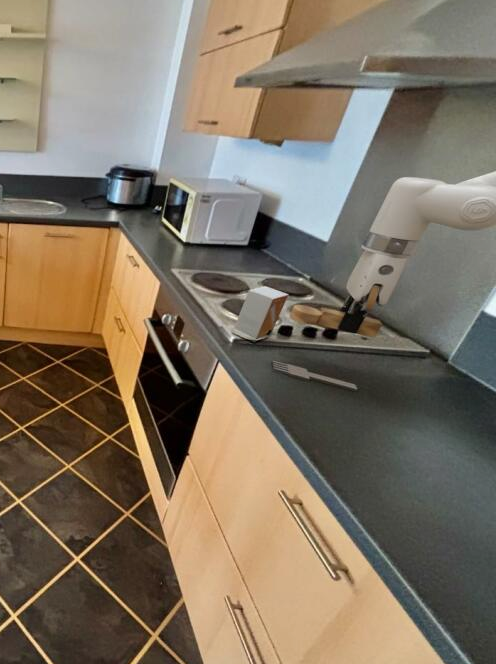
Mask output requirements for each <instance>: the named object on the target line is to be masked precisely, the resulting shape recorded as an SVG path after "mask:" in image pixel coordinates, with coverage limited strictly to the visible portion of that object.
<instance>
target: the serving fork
mask: <svg viewBox="0 0 496 664" xmlns="http://www.w3.org/2000/svg"><path fill="white" fill-rule="evenodd" d="M271 368H272V372H275V373H278V374H282V375H284V376H285V375H286V376H288V377H291V378H295V379H298V380H301V381H305V382H309V381H314V382H318V383H321V384H325V385H328V386H331V387H335V388H339V389H343V390H346V391H350V392H354V393H357V391H358V387H357V385H356V383H355V384H354V383H351V382H347V381H344V380H340V379H336V378H333V377H328V376H326V375H321V374H317V373H314V372H310V371H308V369H307V368H304V367H300V366H297V365H294V364H289V363H284V362H280V361H276V360H272V361H271Z"/></svg>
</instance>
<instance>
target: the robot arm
mask: <svg viewBox="0 0 496 664" xmlns="http://www.w3.org/2000/svg"><path fill="white" fill-rule="evenodd" d="M431 223H433V224H437V225H440V226H445V227H448V228H452V229H456V230H461V231H480V230H486V229H488V228H491V227H493V226H496V170H495V171H492V172H489V173H486V174H483V175H479V176H476V177H473V178H470V179H467V180H464V181H461V182H458V183H456V184H449V183H447V182H445V181H443V180H439V179H432V178H425V177H417V176H416V177H415V176H414V177H413V176H404V177H403V176H402V177H400V178H398V179H396V180H395V181H394V182H393V183H392V185H391V187H390V189H389V191H388V192H387V195H386V197H385V199H384V201H383V203H382V205H381V207H380V209H379V211H378V212H377V215H376V216H375V219H374V220H373V223H372V224H371V227H370V229H368V230H369V231H368V232H367V234H366V237H365V239H364V241H363V243H361V244H362V245H361V246H360V247H361V249H362V250H364V251H363V253H362V254H361V255H360V257H359V259H358V260H357V262H356V265H355V266H354V268H353V270H352V272H351V274H350V276H349V278H348V280H347V282H346V286H345V289H346V290H347V292H348V295H347V296H346V298H345V300H344V302H343V304H342V306H341V308H340V310H339V311H340V312H345V314H344V316H343V318H342V320H341V322H340V324H339V326H338V329H339V330H338V329H337V330H338V331H341V332H347V333H351V334H355V333H357V331H358V329H359V328H360V326H361V324H362V322H363V320H364V319H365V317H367V316H368V315H369V312H373V310H374V307H375V304H377V306H379V307H385V306H386V305H387V304H388V301H389V300H390V298H391V296H392V294H393V292H394V290H395V288H396V286H397V285H398V282H399V280H400V277H401V275H402V273H403V270H404V267H405V265H406V263H407V259H410V258H412V256H413V254H414V252H415V250H416V249H417V247H418V245H419V244H420V241H421V240H422V239H423V236H424V235H425V233H426V231H427V229H428V228H429V226H430V224H431Z"/></svg>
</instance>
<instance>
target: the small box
mask: <svg viewBox="0 0 496 664" xmlns="http://www.w3.org/2000/svg"><path fill="white" fill-rule="evenodd" d="M288 297H289V293H286V292H283V291H280V290H277V289H275V288H272V287H269V286H266V285H264V286H260V287H255V288H252V289H248V291H247V294H246V297H245V299H244V302H243V305H242V307H241V309H240V312H239V315H238V317H237V320H236V321H235V324H234V327H233V329H234V328H235V329H237V330H239V331H241V332H243V333H245V334H247V335H249V336H251V337H253V338H255V339H258V338H260V337H263V336H265V335H266V334H267V333H268V332H269V330H273V331H274V329H275V327H276V326H275V325H276V324H277V322H278V319H279V317H280V315H281V313H282V310H283V308H284V306H285V304H286V302H287V300H288Z"/></svg>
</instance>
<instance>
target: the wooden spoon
mask: <svg viewBox="0 0 496 664" xmlns="http://www.w3.org/2000/svg"><path fill="white" fill-rule="evenodd" d="M344 314H345V312H340V310H336V309H330V308H327V307H321V308H320V310H319V309H317V308H315V307H311V306H308V305H303V304H295V305H293V307H292V309H291V312H290V313H289V317H290V319H292V320H294V321H296V322H298V323H301V324H303V325H310V326H315V325H316V326H317V325H318V326H321V327H325V328H330V329H334V330H338V331H340V330H339V329H338V326H339V324H340V322H341V320H342V318H343V316H344ZM382 326H383V323H382V322H381V320H380V319H376V318H372V317H367V316H366V317H365V319H364V320H363V322H362V324H361V326H360V328H359V329H358V331H357V333H354V334H355V335H360V336H364V337H368V338H373V339H376V336H377V335H378V334H379V331H380V330H381V328H382Z"/></svg>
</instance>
